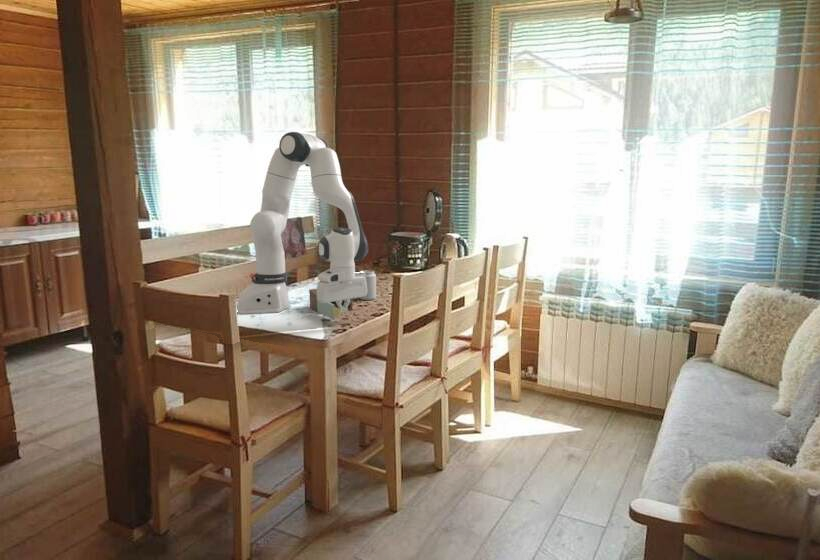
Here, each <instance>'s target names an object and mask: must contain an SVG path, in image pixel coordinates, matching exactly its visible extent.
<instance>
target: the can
mask: <svg viewBox="0 0 820 560" xmlns="http://www.w3.org/2000/svg"><path fill="white" fill-rule="evenodd" d="M362 271H363V272H364V273H365V274H366V283H367V295H366V296H363V297H358V299H360V300H362V301H373V300H375V299H376V298H377V274H376V273H375V270H362Z"/></svg>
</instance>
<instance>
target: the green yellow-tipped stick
mask: <svg viewBox="0 0 820 560" xmlns="http://www.w3.org/2000/svg"><path fill="white" fill-rule="evenodd" d="M317 312H319V313H318V314H321V315H324V316H325V317H328V318H330V319H332V320H336V319H338V320H342V312H341V309H338V308H336V307H335V305H334V304H332V303H330V302H328V303H321V302H319V301H318V300H317ZM317 312H316V313H317Z"/></svg>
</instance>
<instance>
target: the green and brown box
mask: <svg viewBox="0 0 820 560" xmlns="http://www.w3.org/2000/svg"><path fill="white" fill-rule="evenodd" d="M308 290H309V291H308V292H309V307H310V309H312V310H313V311H314V312H316V313H317V314H320V313H319V312H317V288H312V289H308ZM344 302H345V301H344V300H342V303H341V305H342V306H343V305H344ZM330 303H332V304H334V305H335V307H336V308H338V306H337V304H336V301H334V302H330ZM352 310H353V298H352V299H350V303H349V305H348V310H347V311H352Z"/></svg>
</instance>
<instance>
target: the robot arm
mask: <svg viewBox="0 0 820 560" xmlns="http://www.w3.org/2000/svg"><path fill="white" fill-rule="evenodd" d="M302 166H305V167H309V170H310V176H311V187H312V190H313V194H314V195H315V197H316V198H318V199H319V200H320V201H321V202H324V203H325V204H329V205H332V206H334V207H336V208H338V209H340V210H341V211H342V212H343V214H344V216H345V219H346V223H347V226H348V227H340V226H339V227H334V228H332V229H331V230H330V233H329V234H326V235H322V237H321V238H320V239H319V241H318V243H317V252H318V256H319V257H320V258H321V259H322V260H323V261H325V262H330V264H329V268H328V269H327V270H324V271H323V272H320V273H318V274H317V280H318V282H317V285H316V289H317V300H318V301H319V302H321V303H328V302H334V301H336V304H337V306H338V309H341V313H346V312H348V311H349V310H348V305H349V303H350V299H352V300H353V299H357V298H359V297H363V296H366V295H367V283H366V274H365V273H364V272H363V271H364V270H360V271H359V270H358V271H359V272H355V270H356V263H355V262H360V261H362V260H363V259H364V258H365V257H366V256H367V254H368V253H369V244H368V243H369V242H368V239H367V237H366V235H365V232H364V230H363V227H362V223H361V219H360V215H359V212H358V208H357V204H356V202H355V198H354V196H353V194H352V192H351V191H350V190H348V189H347V188H346V186H345V184H344V182H343V178H342V171H341V166H340V162H339V157H338V154H337V152H336V151H335V150H334V149H332V148H331V147H330V144H329V143H328V142H326V140H324V139H322V138H320V137H317V136H314V135H311V134H307V133H300V132H298V131H289V132H286V133H285V134H283V136H281V138H280V141H279V146H278V147H277V148H276V149H275V150H274V152H273V155H272V156H271V159H270V161H269V165H268V167H267V172H266V176H265V179H264V183H263V187H262V193H261V194H262V196H261V197H262V198H261V207H260V211H258V212H257V213H255V214H254V215H253V217H252V218H251V220H250V223H249V227H250V232H251V236H252V241H253V246H254V250H255V260H256V261H255V262H256V273H253V272H252V273H250V274H249V278H250V279H251V283H250V285H248V286H247V287H245V288H244V289H243V290H242V291H240V293H239V296H238V299H237V300H238V301H237V310H238V313H237V314H238V315H244V314H245V315H246V314H249V315H250V314H265V313H266V314H267V313H268V314H269V313H270V314H271V313H279V312H282V311H283V310H288V309H290V308H291V307H292V305H291V302H290V298H289V295H288V289H287V286H288V275H287V271H286V257H285V254H286V253H285V250H284V245H283V240H282V233H283V232H284V231H285V230H286V228H287V222H288V217H289V211H290V204H291V200H292V199H291V198H292V195H293V191H294V187H295V182H296V180H297V175H298V171H299V169H300V168H301V167H302ZM342 300H344V301H345V302H344V305H343V306H342V305H341V303H342Z"/></svg>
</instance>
